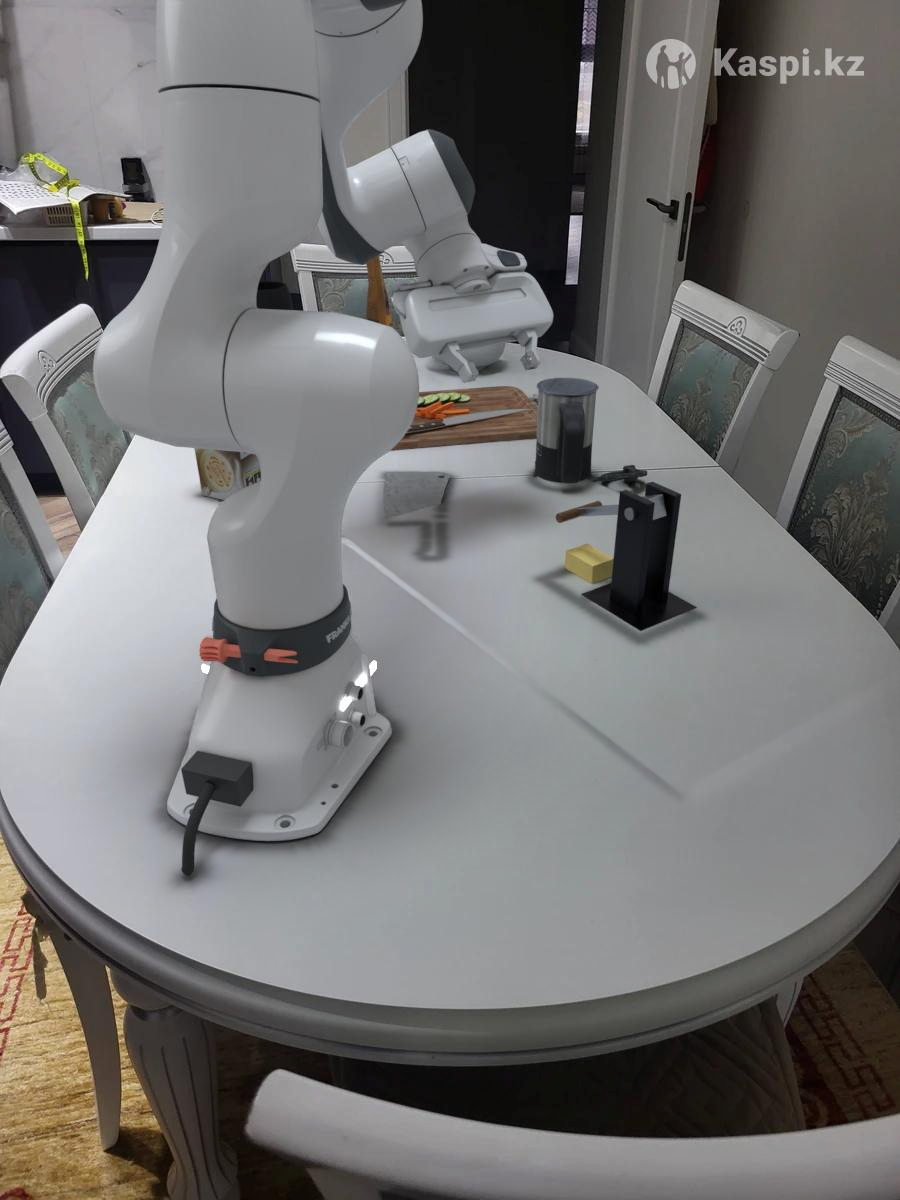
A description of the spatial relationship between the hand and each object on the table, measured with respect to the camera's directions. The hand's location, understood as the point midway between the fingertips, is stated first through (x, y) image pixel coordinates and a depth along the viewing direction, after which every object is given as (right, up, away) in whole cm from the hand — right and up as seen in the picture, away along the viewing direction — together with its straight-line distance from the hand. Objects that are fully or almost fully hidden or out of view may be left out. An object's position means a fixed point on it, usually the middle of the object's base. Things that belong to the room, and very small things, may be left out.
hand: (503, 373), depth 108 cm
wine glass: (-42, +16, +74) cm, 87 cm away
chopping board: (-10, +5, +55) cm, 56 cm away
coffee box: (-39, -12, +27) cm, 48 cm away
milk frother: (+15, -9, +30) cm, 34 cm away
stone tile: (-12, -15, +20) cm, 28 cm away
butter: (+11, -24, +2) cm, 27 cm away
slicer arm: (+13, -18, -6) cm, 23 cm away
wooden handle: (-23, +29, +97) cm, 104 cm away
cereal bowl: (-3, +23, +86) cm, 89 cm away
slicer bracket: (+15, -29, -4) cm, 33 cm away
